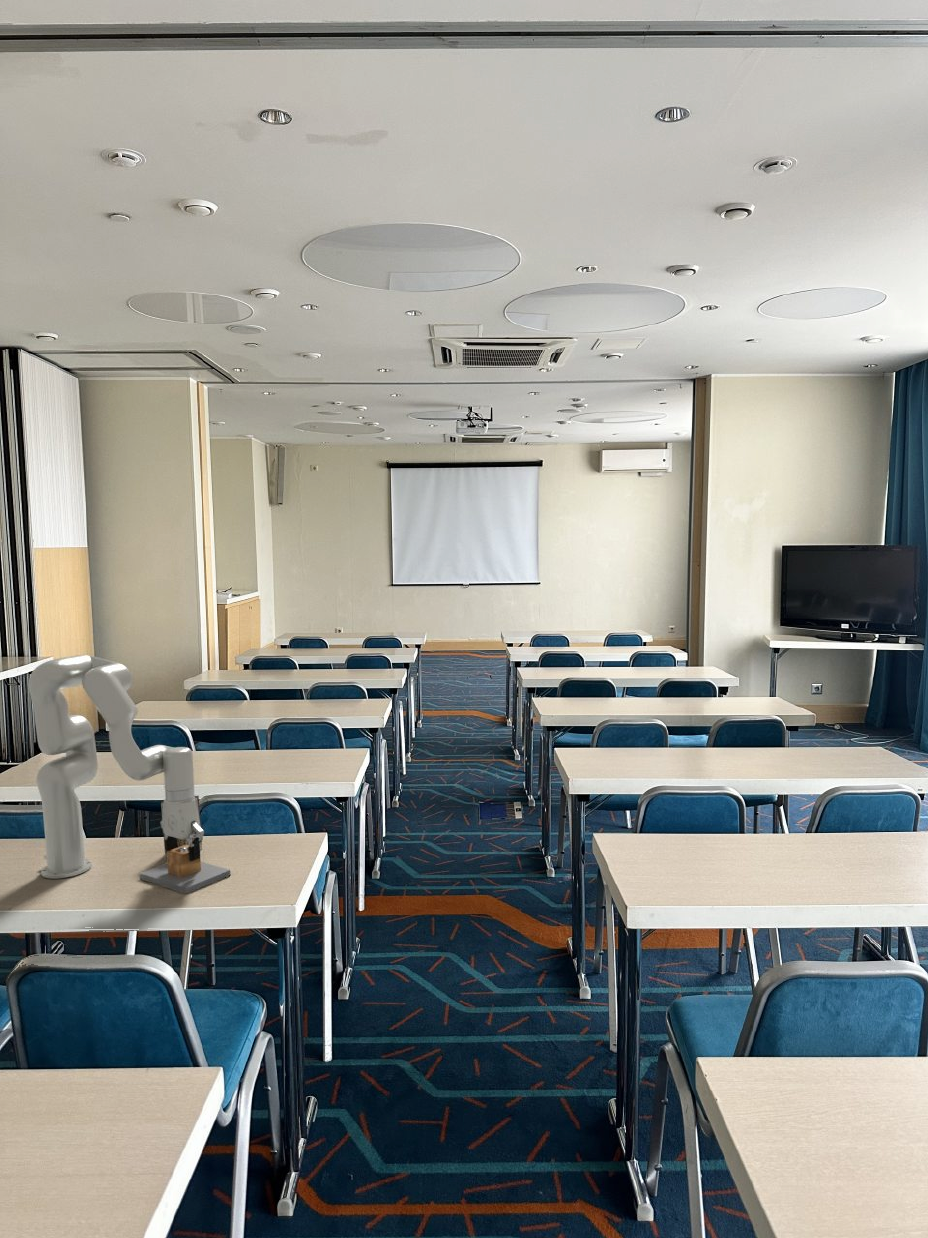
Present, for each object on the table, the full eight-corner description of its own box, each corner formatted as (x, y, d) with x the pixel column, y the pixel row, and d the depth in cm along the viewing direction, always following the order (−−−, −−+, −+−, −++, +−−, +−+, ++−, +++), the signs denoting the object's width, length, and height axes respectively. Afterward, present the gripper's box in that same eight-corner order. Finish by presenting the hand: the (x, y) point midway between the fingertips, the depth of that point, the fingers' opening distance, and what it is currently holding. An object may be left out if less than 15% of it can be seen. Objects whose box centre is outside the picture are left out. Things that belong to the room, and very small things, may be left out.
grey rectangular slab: (140, 878, 222) (139, 873, 222) (184, 862, 233) (183, 856, 233) (186, 893, 211) (186, 888, 210) (230, 875, 222) (230, 870, 222)
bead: (168, 873, 221) (166, 851, 221) (187, 866, 226) (185, 844, 226) (182, 877, 218) (181, 855, 217) (201, 870, 223) (199, 848, 222)
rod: (180, 872, 222) (178, 848, 221) (185, 870, 223) (184, 846, 223) (184, 873, 221) (182, 849, 220) (189, 871, 222) (188, 847, 222)
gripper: (148, 793, 222) (151, 854, 223) (188, 802, 212) (191, 867, 214) (172, 786, 228) (175, 846, 230) (212, 795, 218) (215, 858, 220)
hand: (183, 856), depth 222 cm, fingers open, 9 cm apart
